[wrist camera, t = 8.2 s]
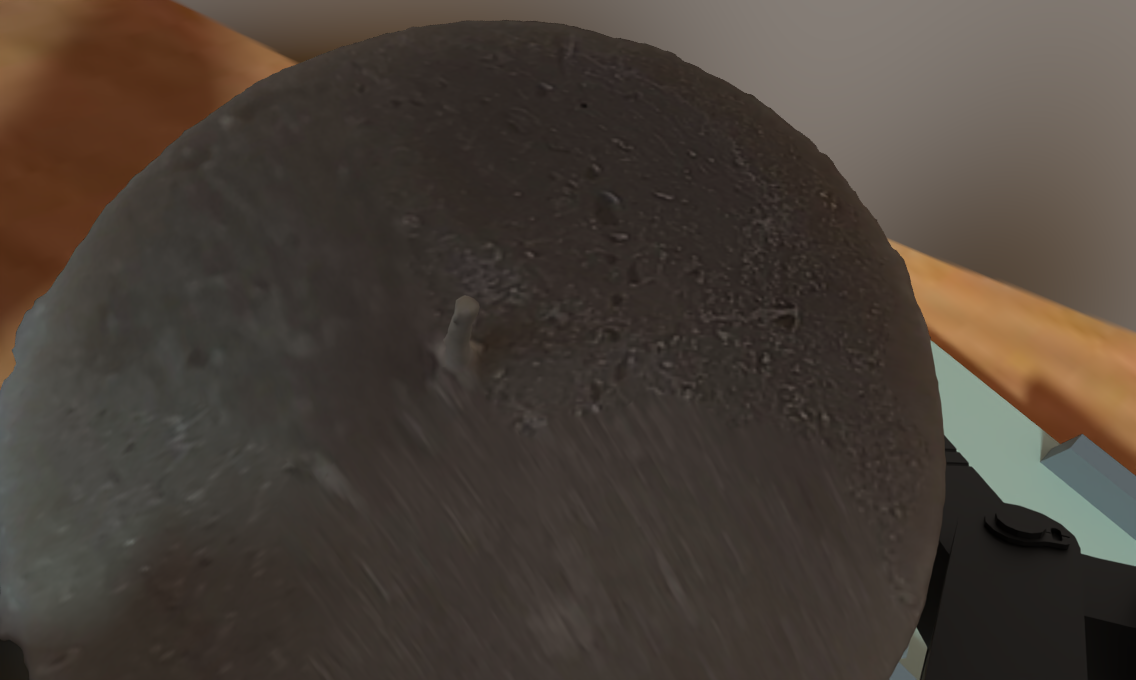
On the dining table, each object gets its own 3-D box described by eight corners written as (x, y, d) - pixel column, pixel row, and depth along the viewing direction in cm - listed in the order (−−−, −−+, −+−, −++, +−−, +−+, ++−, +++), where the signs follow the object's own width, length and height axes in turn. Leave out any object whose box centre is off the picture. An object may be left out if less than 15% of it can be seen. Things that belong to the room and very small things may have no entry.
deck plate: (653, 492, 38) (661, 471, 34) (851, 302, 42) (879, 263, 38) (1109, 961, 30) (1191, 1007, 26) (1301, 669, 34) (1398, 669, 30)
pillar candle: (684, 360, 22) (820, -143, 8) (774, 724, 18) (1307, 892, 4) (360, 414, 22) (-46, -15, 8) (379, 795, 18) (-352, 1209, 4)
